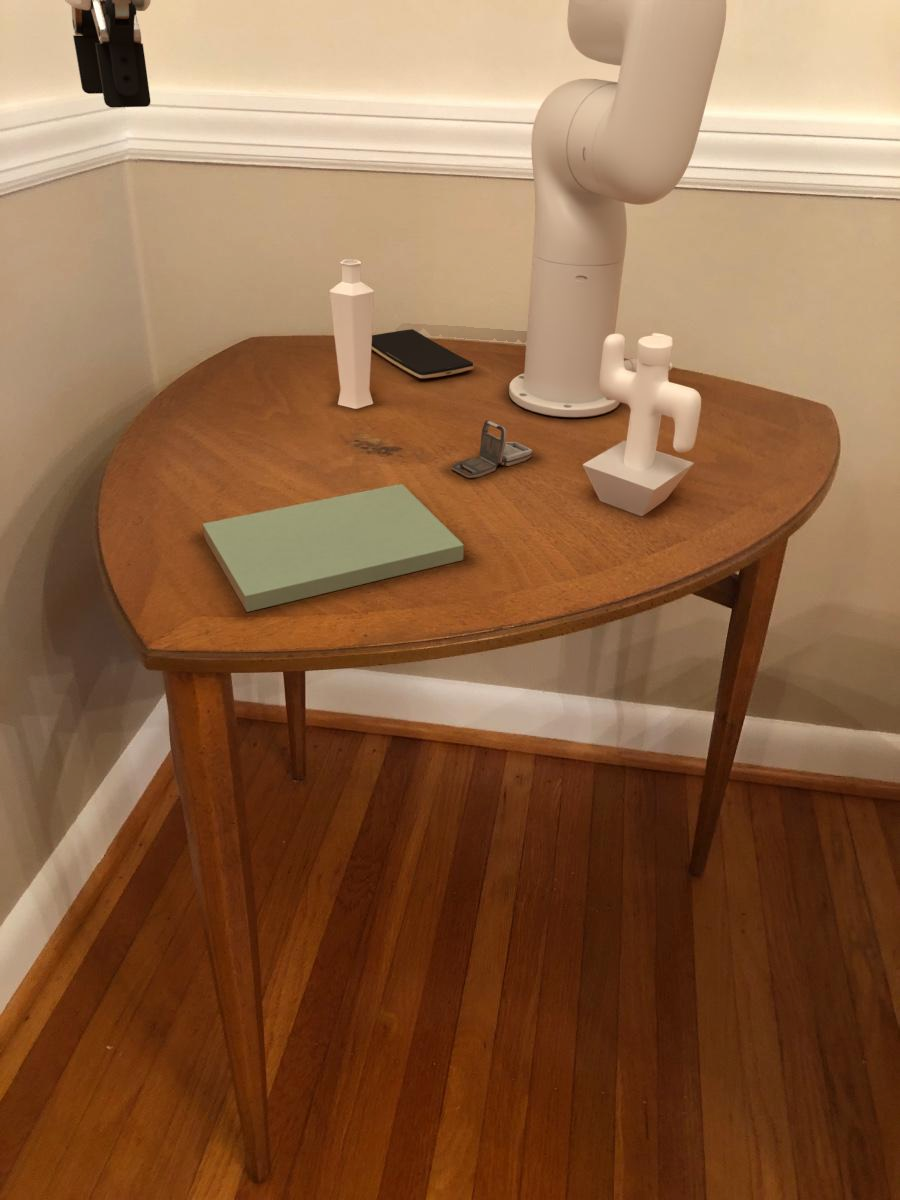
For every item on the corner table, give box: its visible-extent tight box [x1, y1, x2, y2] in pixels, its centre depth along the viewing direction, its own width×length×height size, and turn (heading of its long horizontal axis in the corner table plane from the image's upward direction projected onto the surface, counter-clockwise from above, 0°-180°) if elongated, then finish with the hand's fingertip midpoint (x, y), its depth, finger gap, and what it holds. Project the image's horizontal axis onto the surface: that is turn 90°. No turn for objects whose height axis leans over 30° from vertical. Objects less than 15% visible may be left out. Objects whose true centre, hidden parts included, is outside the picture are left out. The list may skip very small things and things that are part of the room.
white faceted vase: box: [328, 259, 375, 410], centre depth 100 cm, size 5×4×15 cm
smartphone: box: [371, 328, 474, 379], centre depth 116 cm, size 7×1×15 cm
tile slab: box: [202, 483, 465, 613], centre depth 77 cm, size 18×12×2 cm, turn 117°
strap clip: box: [451, 419, 533, 479], centre depth 90 cm, size 8×3×4 cm, turn 130°
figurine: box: [581, 332, 702, 517], centre depth 82 cm, size 7×9×15 cm
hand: (115, 99), depth 73 cm, fingers open, 9 cm apart
